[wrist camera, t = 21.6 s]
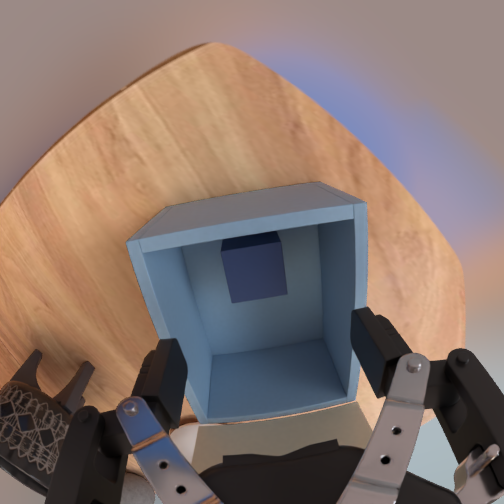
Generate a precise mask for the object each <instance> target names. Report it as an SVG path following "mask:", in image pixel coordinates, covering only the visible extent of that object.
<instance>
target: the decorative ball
mask: <svg viewBox="0 0 504 504" xmlns="http://www.w3.org/2000/svg"><path fill="white" fill-rule="evenodd" d="M154 501H155V493H154V490H153V488H152V486H151V485H150V484H149V482H147V481H146V480H145V479H144V478H142V477H140V476H138V475H136V474H131V473H125V477H124V483H123V489H122V496H121V503H120V504H154Z"/></svg>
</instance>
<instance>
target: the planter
mask: <svg viewBox="0 0 504 504" xmlns="http://www.w3.org/2000/svg"><path fill="white" fill-rule="evenodd" d="M41 359H42V353H41V352H40V351H38V350H37V349H36V350H35V351H34V352H33V353H32V354H31V355H30V357H29V358H28V359H27V360H26V361H25V363H24V364H23V365H22V366H21V367H20V369H19V370H18V371H17V372H16V374H15V375H14V376H13V377H12V379H11V380H10V381H9V382H7V383H6V384H5V385H4V386H3V387H2V388H1V390H0V468H2V469H3V470H4V471H5V472H7V473H8V474H9V475H11V476H12V477H13V478H15V479H16V480H18V481H19V482H21V483H22V484H24V485H25V486H27V487H29V488H30V489H32V490H34V491H35V492H37V493H39V494H41V495H43V496H45V497H46V496H47V492H48V489H49V485H50V481H51V478H52V475H53V471H54V468H55V465H56V462H57V459H58V456H59V453H60V450H61V447H62V444H63V442H64V439H65V436H66V433H67V431H68V428H69V425H70V423H71V420H72V418H73V415H74V414H75V412H76V411H77V410H78V409H80V408H81V407H83V406H84V403H85V399H84V398H83V396H82V394H83V392H84V390H85V388H86V386H87V384H88V382H89V380H90V377H91V375H92V373H93V371H94V369H95V368H94V367H93V366H92V365H91V364H90V363H89V362H88V361H87V362H85V363H83V364H82V366H81V367H80V369H79V370H78V372H77V373H76V375H75V376H74V377H73V379H72V380H71V381H70V382H69V384H68V385H67V386H66V387H65V388H64V389H63V390H62V391H61V392H60V393H58V394H57V395H56V396H55V397H53V398H51V397H50V396H48V395H47V394H45V393H44V392H42V391H41V389H40V387H39V385H38V383H37V379H36V372H37V368H38V365H39V363H40V361H41Z"/></svg>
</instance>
